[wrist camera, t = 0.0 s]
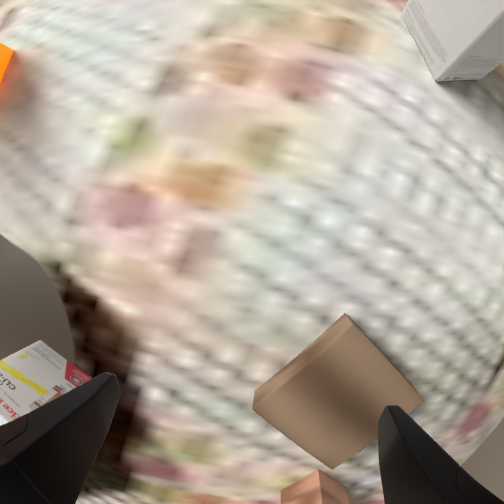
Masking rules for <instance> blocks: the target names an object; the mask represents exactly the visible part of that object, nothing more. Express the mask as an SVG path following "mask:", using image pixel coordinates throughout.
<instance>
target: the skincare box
mask: <svg viewBox="0 0 504 504" xmlns="http://www.w3.org/2000/svg"><path fill="white" fill-rule="evenodd" d="M401 17H402V19H403V20H404V22H405V24H406V25H407V27H408V29H409V30H410V32H411V34H412V36H413V38H414V39H415V41H416V43H417V45H418V47H419V49H420V51H421V53H422V55H423V56H424V58H425V60H426V62H427V65H428V67H429V69H430V71H431V73H432V75H433V77H434V79H435V81H454V80H480V79H482V78H484V77H485V76H486V75H487V74H488V73H490V72H491V71H492V70H494V69H495V68H496V67H497V66H499V65H500V64H501V63H503V62H504V0H408V2H407V4H406V6H405V8H404V10H403V12H402V14H401Z"/></svg>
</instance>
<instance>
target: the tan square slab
mask: <svg viewBox="0 0 504 504" xmlns="http://www.w3.org/2000/svg"><path fill="white" fill-rule="evenodd" d="M422 401H423V399H422V397H421V396H420V395H419V393H418V392H417V391H416V390H415V388H414V387H413V386H412V384H411V383H410V382H409V381H408V380H407V379H406V378H405V377H404V376H403V375H402V373H401V372H400V371H399V370H398V369H397V368H396V367H395V366H394V365H393V364H392V363H391V362H390V360H389V359H388V358H387V357H386V356H385V355H384V354H383V353H382V352H381V351H380V350H379V349H378V348H377V347H376V345H375V344H374V343H373V342H372V341H371V340H370V339H369V338H368V337H367V336H366V335H365V334H364V333H363V332H362V331H361V329H360V328H359V327H358V326H357V325H356V324H355V323H354V322H353V321H352V320H351V319H350V318H349V317H348V316H347V315H346V314H344V315H342V316H341V317H340V318H339V319H338V320H337V321H336V322H335V323H334V324H333V325H332V326H331V327H330V328H328V329H327V330H326V331H325V332H324V333H323V334H322V335H321V336H320V337H319V338H317V339H316V340H315V341H314V342H313V343H312V344H311V345H310V346H308V347H307V348H306V349H305V350H304V351H303V352H302V353H300V354H299V355H298V356H297V357H296V358H295V359H293V360H292V361H291V362H290V363H289V364H288V365H286V366H285V367H284V368H283V369H282V370H280V371H279V372H278V373H277V374H276V375H274V376H273V377H272V378H271V379H269V380H268V381H267V382H266V383H264V384H263V385H262V386H261V387H259V388H258V389H257V390H256V391H255V395H254V401H253V408H252V410H254V411H255V412H256V413H257V414H259V415H260V416H261V417H262V418H263V419H265V420H266V421H267V422H268V423H270V424H271V425H272V426H273V427H275V428H276V429H277V430H279V431H280V432H281V433H282V434H284V435H285V436H286V437H288V438H289V439H290V440H292V441H293V442H294V443H296V444H297V445H298V446H300V447H301V448H302V449H304V450H305V451H306V452H308V453H309V454H311V455H312V456H313V457H315V458H316V459H318V460H319V461H320V462H322V463H323V464H325V465H326V466H328V467H329V468H330V469H334V468H336V467H337V466H339V465H340V464H342V463H343V462H345V461H346V460H348V459H349V458H351V457H352V456H354V455H355V454H357V453H358V452H359V451H361V450H362V449H364V448H365V447H366V446H368V445H369V444H370V443H372V442H373V441H374V440H376V439H377V438H378V429H377V425H378V421H379V418H380V416H381V414H382V412H383V410H384V408H385V407H386V406H387V405H398V406H400V407H401V408H402V409H403V410H404V411H405V412H406V413H407V414H408V413H409V412H411V411H412V410H413V409H414V408H415V407H416V406H417V405H418V404H420V403H421V402H422Z"/></svg>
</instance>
